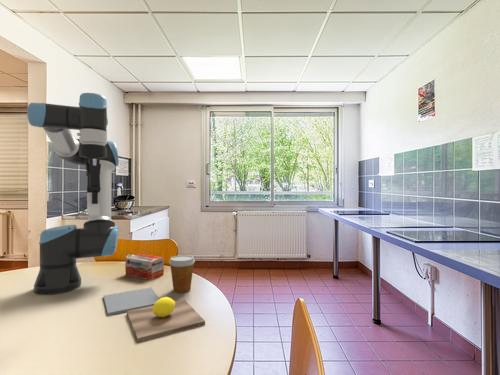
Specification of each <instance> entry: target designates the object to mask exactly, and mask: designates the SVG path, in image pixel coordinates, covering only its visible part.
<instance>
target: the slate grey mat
mask: <svg viewBox="0 0 500 375" xmlns="http://www.w3.org/2000/svg"><path fill="white" fill-rule="evenodd" d="M159 299H160V298H159V296H158V294H157V293H156V292H155V291H154V289H153V288H152V287H144V288H141V289H134V290H128V291H122V292H115V293H111V294H110V293H109V294H105V295H103V301H104V304H105V309H106V313H107V316H114V315H117V314H123V313H127V311H130V310H135V309H140V308H145V307H150V306H154V304H155V303H156V301H157V300H159Z"/></svg>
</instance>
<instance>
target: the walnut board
mask: <svg viewBox="0 0 500 375" xmlns="http://www.w3.org/2000/svg"><path fill="white" fill-rule="evenodd" d="M174 301H175V307H174V310H173V312H172V313H171V314H170V315H168V316H166V317H158V316H156V315H155V314H154V313H153V307H154V306H150V307H145V308H140V309H135V310H130V311H127V312H126V316H127V319H128V321H129V324H130V326H131V329H132V331H133V333H134V336H135V340H136V342H137V343H140V342H143V341H144V342H145V341H147V340H151V339H155V338H160V337H163V336H167V335H170V334H174V333H179V332H182V331H185V330H191V329H193V328H197V327H200V326H204V325H206V320H205V319H204V318H203V317H202V316H201V315H200V314H199V313H198V312H197V311H196V310H195V309H194V307H192V306H191V305H190V303H189V302H188V301H186V299H180V300H174Z"/></svg>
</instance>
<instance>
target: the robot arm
mask: <svg viewBox="0 0 500 375" xmlns="http://www.w3.org/2000/svg"><path fill="white" fill-rule="evenodd" d="M107 104H108V102H107V98H106V97H105V96H104V95H103V94H100V93H96V92H95V93H94V92H84V93H81V94H80V95H79V102H78V106H70V105H64V104H53V103H45V102H31V103H28V106H27V111H26V112H27V120H28V124H29V125H30V126H31V127H34V128H35V127H36V128H37V127H38V128H42V129H43V130H44V132H45V134H46V136H47V137H48V138H49V140H50V142H51V148H52V150H53V152H54V154H55V155H56V156H57V157H58V158H60V159H62V160H63V161H65V162H67V163H70V164H74V165H76V166H85V169H86V174H85V175H86V176H87V177H86V178H87V180H86V181H87V185H86V211H87V213H88V215H87V220H86V221H84V223H83V227H79V228H78V226H77V225H76V224H67V225H65V224H64V225H61V226H54V227H51V228H46V229H44V230H42V231H41V232H40V234H39V242H38V245H39V269H38V274H37V276H36V279H35V282H34V285H33V292H34V293H35V294H37V295H54V294H55V295H56V294H61V293H66V292H69V291H72V290H75V289H77V288H79V287H81V285H82V277H81V274H80V271H79V269H78V266H77V259H78V260H79V259H85V258H97V257H99V258H100V257H102V258H103V257H108V256H113V255H114V254H115V253H116V251H117V246H118V240H119V239H118V237H119V232H120V231H119V230H120V227H119V226H117V225H116V222H115V221H114V220H113V219H112V180H113V179H112V177H113V176H112V175H113V174H112V173H113V172H114V171H115V169H116V167H118V166H119V153H118V152H119V151H118V146H117V144H116V143H115V142H114V141H113V140H108V132H107V126H108V123H109V121H108V105H107ZM71 130H77V131H78V132H77V133H76V136H77V137H79V138H75V137H74V136H73V134H72V131H71Z"/></svg>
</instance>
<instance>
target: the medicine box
mask: <svg viewBox="0 0 500 375" xmlns="http://www.w3.org/2000/svg"><path fill="white" fill-rule="evenodd" d="M164 259H165V257H164V256H158V255H153V254H144V253H138V254H134V255H131V256H128V257H125V267H124V268H125V275H126V276H128V277H133V278H134V277H135V278H140V279H143V280H144V279H145V280H149V281H150V280H154V279H156V278H158V277H160V276H164V272H165V265H164V264H165V262H164V261H165V260H164Z"/></svg>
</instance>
